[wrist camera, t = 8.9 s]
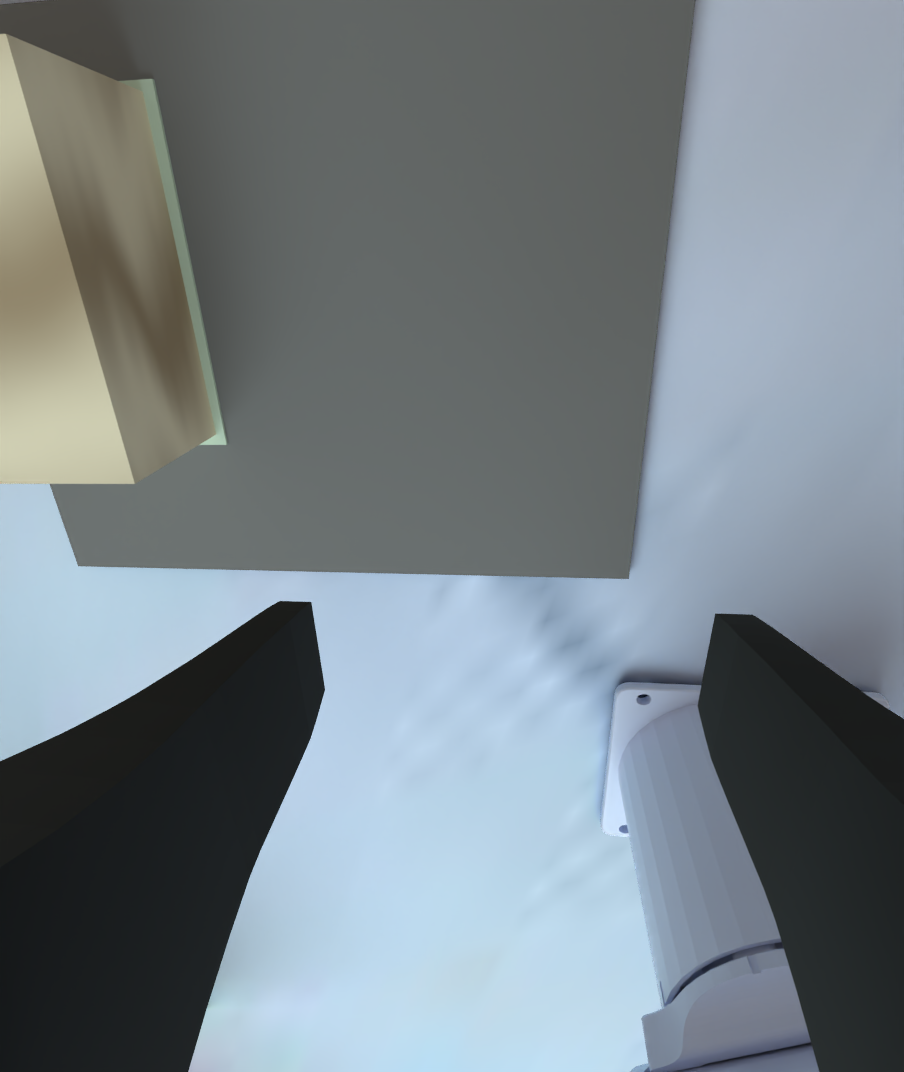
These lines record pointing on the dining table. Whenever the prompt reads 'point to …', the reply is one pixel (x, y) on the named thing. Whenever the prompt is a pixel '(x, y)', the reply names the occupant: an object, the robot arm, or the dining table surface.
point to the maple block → (88, 284)
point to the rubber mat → (399, 276)
